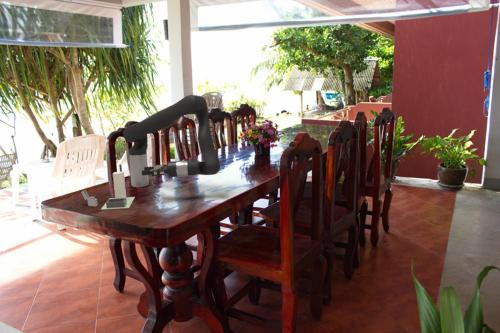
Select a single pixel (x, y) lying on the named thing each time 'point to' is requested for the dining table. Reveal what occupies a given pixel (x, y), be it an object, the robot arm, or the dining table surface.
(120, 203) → the board
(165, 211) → the dining table surface
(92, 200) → the lighter
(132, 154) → the robot arm
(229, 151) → the dining table surface
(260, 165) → the dining table surface
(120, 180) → the cream rectangular pillar
